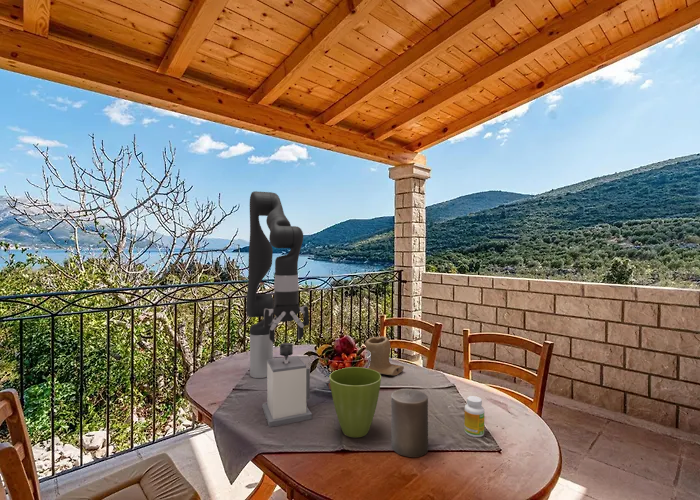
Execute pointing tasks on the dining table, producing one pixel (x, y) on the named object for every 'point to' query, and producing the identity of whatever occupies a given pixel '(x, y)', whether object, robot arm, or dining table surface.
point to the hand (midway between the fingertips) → (286, 340)
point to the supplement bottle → (474, 417)
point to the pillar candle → (409, 422)
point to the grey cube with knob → (287, 391)
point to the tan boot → (381, 356)
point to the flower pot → (355, 398)
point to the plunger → (286, 351)
